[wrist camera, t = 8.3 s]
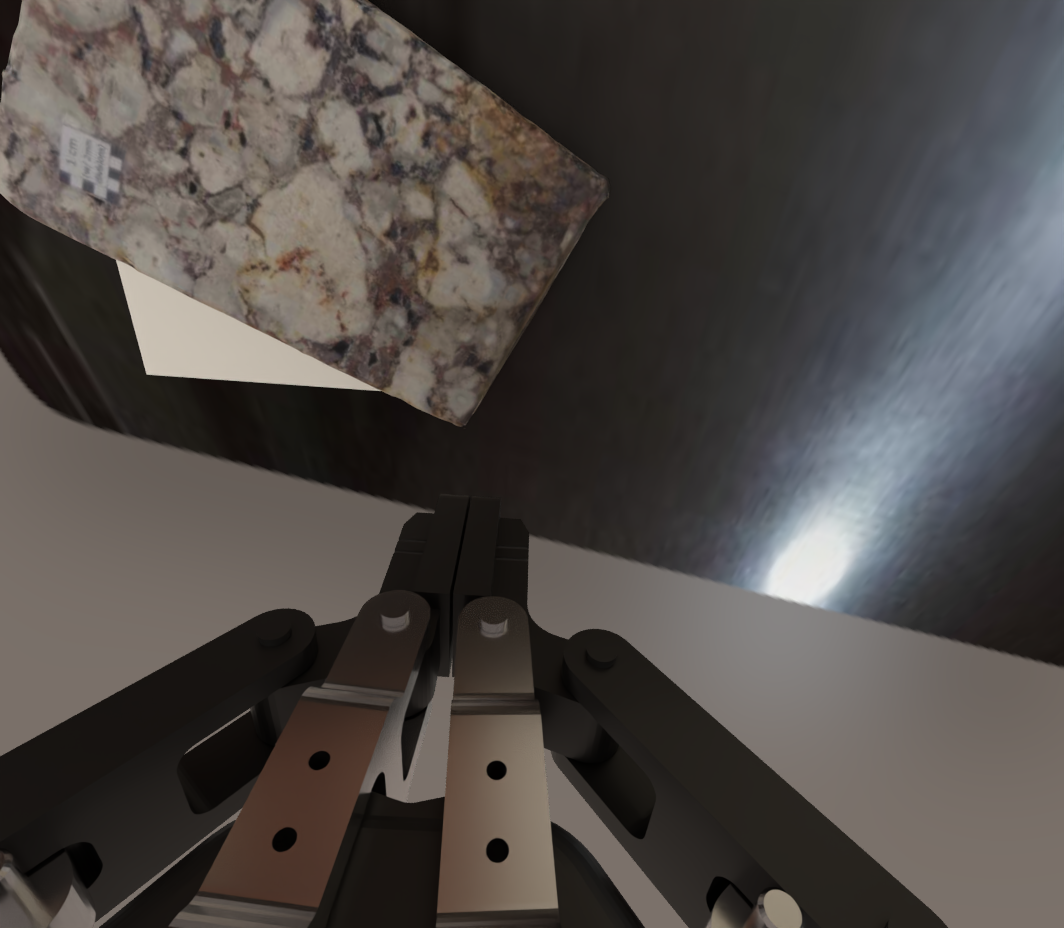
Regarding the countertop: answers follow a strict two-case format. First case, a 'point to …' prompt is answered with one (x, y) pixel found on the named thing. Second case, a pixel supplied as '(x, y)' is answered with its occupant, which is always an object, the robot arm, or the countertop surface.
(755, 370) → the countertop surface
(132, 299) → the mat
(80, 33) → the stone block
